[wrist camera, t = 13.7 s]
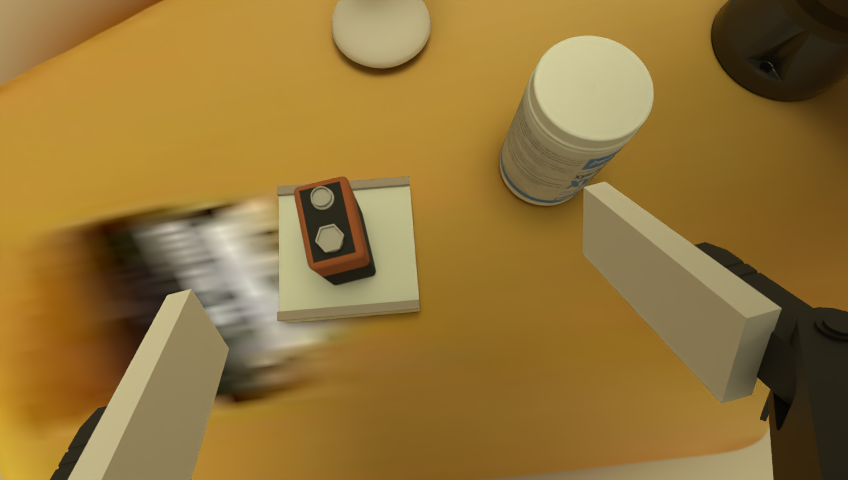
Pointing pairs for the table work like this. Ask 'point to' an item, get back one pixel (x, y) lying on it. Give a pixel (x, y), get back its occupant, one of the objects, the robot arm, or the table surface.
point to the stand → (390, 248)
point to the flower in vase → (380, 30)
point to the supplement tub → (574, 118)
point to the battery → (334, 231)
